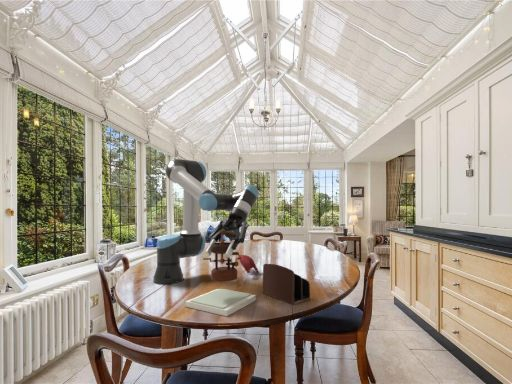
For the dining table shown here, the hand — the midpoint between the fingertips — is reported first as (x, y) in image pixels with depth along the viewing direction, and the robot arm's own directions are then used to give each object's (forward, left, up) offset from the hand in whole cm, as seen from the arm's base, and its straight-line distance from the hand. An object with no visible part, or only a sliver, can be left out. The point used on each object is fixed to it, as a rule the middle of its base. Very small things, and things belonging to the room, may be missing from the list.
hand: (217, 254), depth 117 cm
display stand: (-1, +3, -20) cm, 20 cm away
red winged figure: (-20, +52, -20) cm, 59 cm away
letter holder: (+18, +24, -20) cm, 36 cm away
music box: (0, +3, -10) cm, 11 cm away
